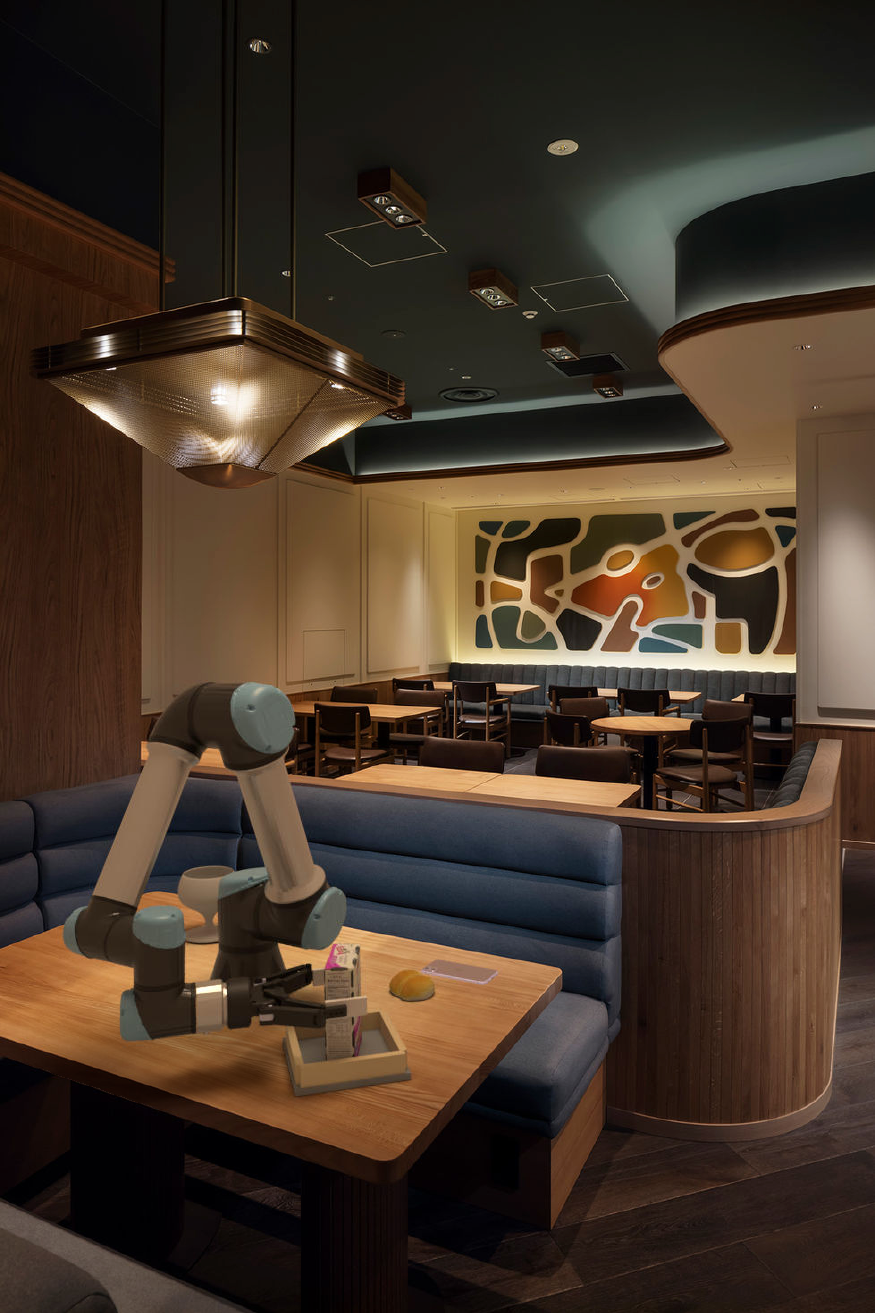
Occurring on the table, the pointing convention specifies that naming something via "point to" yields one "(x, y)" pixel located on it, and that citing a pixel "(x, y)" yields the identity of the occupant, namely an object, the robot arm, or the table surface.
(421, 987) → the bread roll
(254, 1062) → the table surface
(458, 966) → the mobile phone
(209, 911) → the chalice
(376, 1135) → the table surface
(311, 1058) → the shallow square tray
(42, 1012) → the table surface
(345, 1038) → the candy bar box
